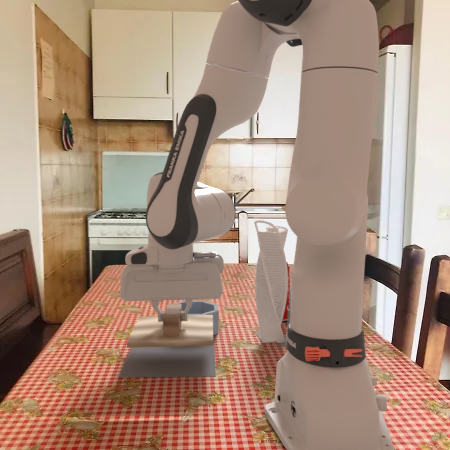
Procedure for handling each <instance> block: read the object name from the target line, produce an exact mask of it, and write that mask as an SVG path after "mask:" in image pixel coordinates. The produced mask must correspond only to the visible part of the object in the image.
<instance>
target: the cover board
mask: <svg viewBox="0 0 450 450" xmlns="http://www.w3.org/2000/svg"><path fill="white" fill-rule="evenodd" d="M164 311H165V314H164V317H163V322H158V315H157V316H156V315H155V316H152V315H151V316H138V319H137V320H136V323H135V325H134V326H133V329H132V331H131V332H130V334H129V337H128V339H127V341H126V348H129V349H131V348H134V347H171V346H208V345H213V342H214V335H213V315H192V316H188V321H180V311H182V304H174V303H167V305H166V308H165V310H164Z"/></svg>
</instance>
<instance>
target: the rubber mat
mask: <svg viewBox="0 0 450 450" xmlns="http://www.w3.org/2000/svg"><path fill="white" fill-rule="evenodd" d="M215 343H216V342H215V341H213V345H208V346H171V347H134V348H129V349H130V350H129V352H128V355H127V356H126V357H125V358H126V359H125V361H124V363H123V366H122V368H121V371H120V372H119V375H118V378H200V377H201V378H203V377H204V378H206V377H210V378H211V377H212V378H213V377H215V378H216V377H217V375H216V372H217V371H216V347H215V346H216V345H215Z"/></svg>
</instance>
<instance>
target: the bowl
mask: <svg viewBox="0 0 450 450" xmlns="http://www.w3.org/2000/svg"><path fill="white" fill-rule="evenodd" d="M173 304H182V311H184V310H185V309H186V307H187V305H186V302H185V300H183V301H182V300H180V301H178V302H174V303H173ZM219 313H220V311H219V304H217V303H213V302H210V301H206V300H193V305H192V307H191V308H190V310H189V312H188V316H192V315H213V336H216V335H219V327H220V326H219V323H220V322H219V319H220V318H219V316H220V315H219Z"/></svg>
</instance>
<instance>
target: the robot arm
mask: <svg viewBox="0 0 450 450" xmlns="http://www.w3.org/2000/svg"><path fill="white" fill-rule="evenodd" d="M379 38H380V37H379V26H378V18H377V11H376V9H375V6H374V5H373V3H372V2H371V1H370V0H238V1H235V2H232V3H230V4H228V5H227V6H226V7H225V8H224V10H223V11H222V12H221V14H220V17H219V20H218V22H217V24H216V27H215V30H214V32H213V35H212V39H211V42H210V46H209V50H208V52H207V56H206V57H207V58H206V62H205V67H204V71H203V75H202V77H201V81H200V82H199V86H198V88H197V89H196V92H195V93H194V95H193V97H192V98H191V99H190V100H189V101H188V102H187V104H186V105H185V107H184V110H183V112H182V114H181V116H180V118H179V120H178V121H179V122H178V125H177V128H176V131H175V134H174V137H173V140H172V143H171V146H170V149H169V152H168V155H167V158H166V162H165V164H164V168H163V170H162V172H158V173H155V174H154V175H152V177H150V179H149V182H148V186H147V193H146V211H145V224H146V228H147V230H148V236H147V244H146V245H142V246H140V247H136V248H134V249H132V250H130V251H128V252H127V253H126V255H125V258H124V260H125V264H126V265H125V267H124V268H123V270H122V272H121V277H120V288H119V289H120V290H119V292H120V298H121V299H122V300H123V301H124V302H143V301H144V302H146V301H148V302H149V301H151V307H152V308H153V309H154V311H155V313H156V314H157V316H158V322H163V317H164V314H165V310H162V309H161V307H160V303H161V301H182V300H183V301H185V302H186V305H187V307H186V309H185V310H184V311H180V321H188V312H189V310H190V308H191V307H192V305H193V301H194V300H219V299H220V298H221V297H222V295H223V282H222V275H221V274H222V273H223V272H224V269H225V268H224V267H225V265H224V264H225V263H224V259H223V256H221V255H220V254H219V253H217V252H215V251H209V252H203V251H202V252H201V251H199V252H195V251H194V243H201V242H205V241H209V240H212V239H217V238H219V237H222V236H225V235H227V234H228V233H229V232H230V231H231V229H232V228H233V226H234V224H235V221H236V212H237V211H236V206H235V203H234V201H233V198H232V197H231V196H230V195H229V193H228V192H226V191H225V190H223V189H219V188H215V187H213V186H209V185H207V184H204V183H202V182H200V181H199V180H200V177H201V174H202V171H203V168H204V165H205V162H206V158H207V155H208V153H209V151H210V149H211V147H212V145H213V144H214V142H216V140H217V139H218V138H219V137H220V136H221V135H223V134H225V133H226V132H227V131H229V130H230V129H233V128H235V127H238V126H239V125H242V124H244V123H245V122H247V121H249V120H250V119H251V118H253V117H254V116H255V115H256V114H257V112H258V111H259V109H260V106H261V105H262V102H263V100H264V98H265V93H266V91H267V86H268V81H269V77H270V73H271V69H272V64H273V60H274V57H275V54H276V52H277V50H278V49H279V48H280V47H281V45H283V44H284V43H286V44H287V45H289V46H290V47H295V48H296V47H298V46H299V47H300V46H302V61H301V62H302V63H301V71H300V73H301V75H300V86H299V87H300V90H299V103H298V117H297V118H298V119H297V130H296V137H295V142H294V146H293V153H292V157H291V164H290V171H289V177H288V184H287V186H288V187H287V192H286V193H287V194H286V198H285V199H286V200H285V205H284V207H285V208H284V209H285V211H284V212H285V213H284V214H285V219H286V222H287V224H288V227H289V228H290V230H291V232H293V234H294V235H295V236H296V242H295V243H296V244H295V251H294V259H293V260H294V261H293V267H292V272H291V275H290V295H291V306H290V323H289V325H288V327H287V326H286V335H285V336H286V340H287V346H286V349H287V351H286V353H284V355H283V356H282V357H280V359H279V360H278V361H277V362H276V373H275V386H274V387H275V388H274V389H275V391H274V400H273V401H270V402H269V403H268V402H267V403H266V404H265V405H264V408H263V412H264V416H265V417H266V419H267V421H268V422H269V424H270V425H271V427H272V428H273V430H274V432H275V434H276V435H277V437H278V439H279V440H280V441H281V443H282V445H283V447H285V449H286V450H395V448H394V444H393V442H392V438H391V435H390V433H389V428H388V425H387V422H386V419H385V416H384V412H386V411H387V410H388V409H387V407H388V401H387V396H386V395H385V394H376V392H375V387H376V386H377V385H378V379H377V376H373V375H371V372H370V367H369V366H370V365H369V364H370V363H369V360H368V359H367V358H366V357H367V355H366V354H367V353H366V348H367V347H366V338H365V332H364V329H363V309H364V307H363V306H364V305H363V304H364V301H363V300H364V284H365V282H364V281H365V267H366V266H365V265H366V264H365V263H366V250H367V249H366V247H367V231H368V213H369V212H368V211H369V197H368V196H369V195H368V183H369V181H368V180H369V170H370V161H371V150H372V143H373V142H372V141H373V135H374V123H375V111H376V101H377V100H376V99H377V90H378V89H377V88H378V77H379V75H378V74H379V63H380V61H379V60H380V45H379V44H380V41H379V40H380V39H379Z"/></svg>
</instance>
